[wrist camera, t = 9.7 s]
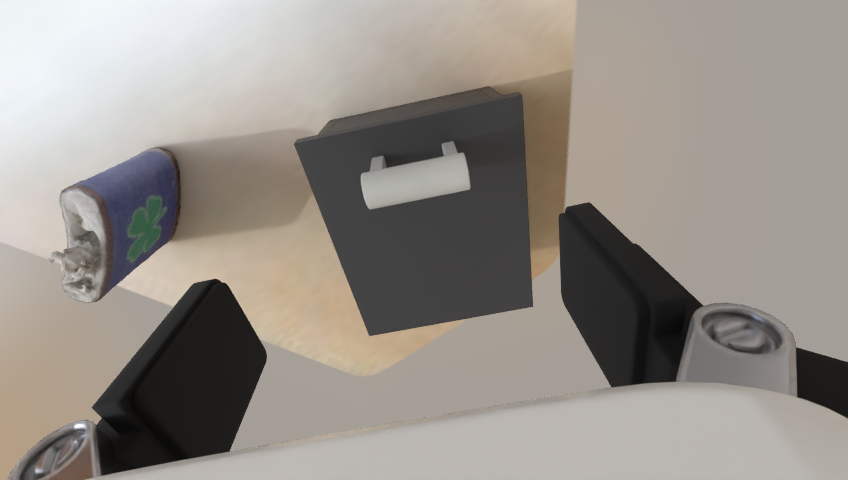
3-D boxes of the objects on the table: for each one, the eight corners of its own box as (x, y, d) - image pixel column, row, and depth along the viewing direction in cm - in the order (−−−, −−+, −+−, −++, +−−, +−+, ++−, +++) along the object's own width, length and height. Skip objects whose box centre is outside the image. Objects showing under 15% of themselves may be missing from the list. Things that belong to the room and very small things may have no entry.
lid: (296, 139, 21) (269, 177, 17) (518, 91, 21) (551, 118, 16) (370, 328, 30) (364, 388, 25) (530, 299, 29) (554, 355, 24)
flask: (146, 141, 30) (28, 194, 20) (186, 154, 30) (89, 211, 21) (141, 238, 34) (40, 318, 24) (176, 248, 34) (91, 330, 25)
